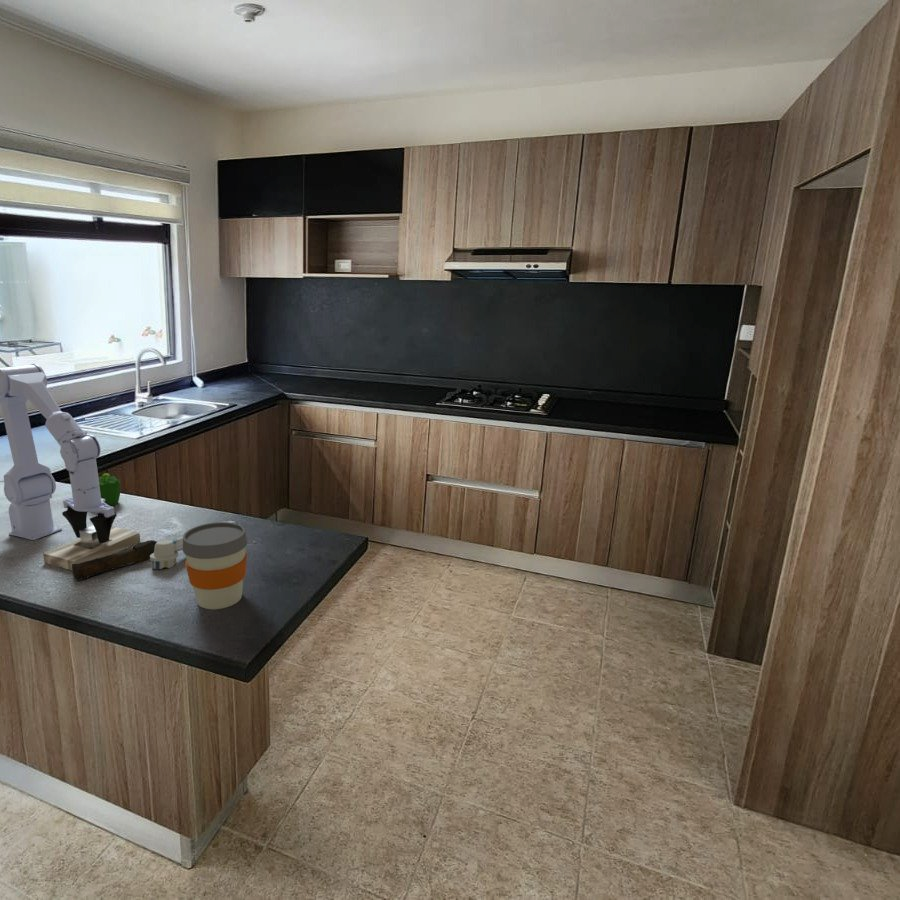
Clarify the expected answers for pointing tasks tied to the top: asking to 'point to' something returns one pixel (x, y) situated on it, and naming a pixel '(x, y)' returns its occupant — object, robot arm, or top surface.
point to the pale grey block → (89, 538)
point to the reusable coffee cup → (216, 563)
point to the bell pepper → (109, 489)
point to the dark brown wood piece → (114, 560)
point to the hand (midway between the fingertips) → (92, 539)
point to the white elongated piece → (168, 552)
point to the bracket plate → (78, 554)
